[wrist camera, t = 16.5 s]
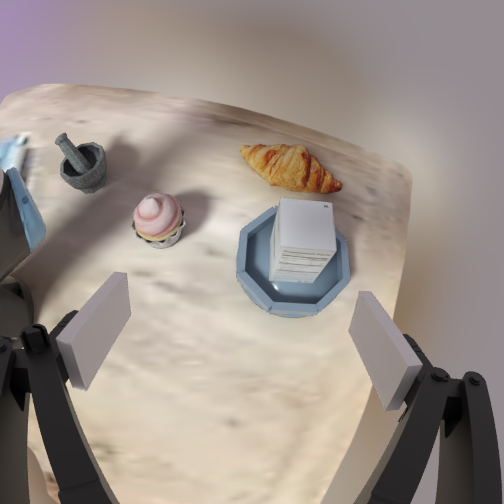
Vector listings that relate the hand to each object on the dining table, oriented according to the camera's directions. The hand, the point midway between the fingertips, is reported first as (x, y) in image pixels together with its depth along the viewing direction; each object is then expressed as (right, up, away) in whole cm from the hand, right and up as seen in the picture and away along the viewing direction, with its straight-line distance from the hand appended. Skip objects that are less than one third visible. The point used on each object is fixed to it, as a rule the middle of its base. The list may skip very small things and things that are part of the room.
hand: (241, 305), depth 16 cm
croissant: (+8, +18, +42) cm, 46 cm away
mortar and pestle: (-33, +18, +39) cm, 54 cm away
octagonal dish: (+7, +1, +33) cm, 34 cm away
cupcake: (-15, +6, +35) cm, 38 cm away
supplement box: (+7, +1, +33) cm, 33 cm away
